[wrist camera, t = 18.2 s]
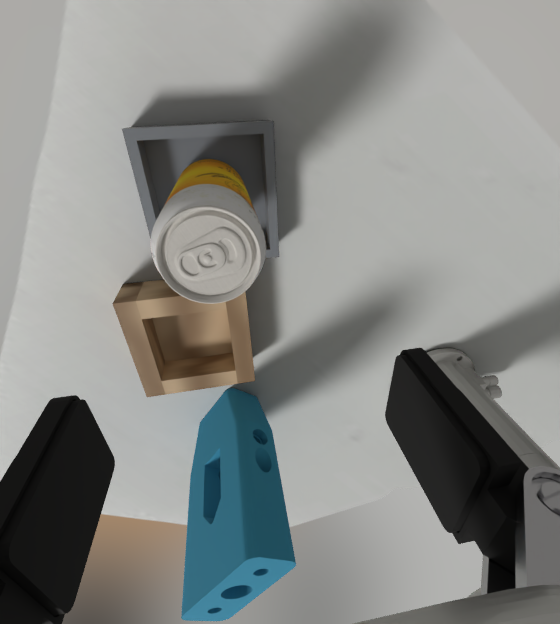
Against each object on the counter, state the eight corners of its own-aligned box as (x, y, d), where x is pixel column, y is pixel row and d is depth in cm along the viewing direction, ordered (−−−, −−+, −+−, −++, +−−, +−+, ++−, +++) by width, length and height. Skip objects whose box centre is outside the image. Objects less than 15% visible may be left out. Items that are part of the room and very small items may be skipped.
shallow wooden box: (242, 271, 34) (245, 288, 31) (251, 358, 40) (255, 380, 37) (123, 283, 33) (112, 303, 29) (152, 372, 39) (146, 397, 36)
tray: (268, 120, 27) (273, 121, 25) (274, 245, 33) (279, 256, 31) (130, 126, 26) (121, 128, 23) (162, 256, 32) (158, 269, 29)
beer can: (255, 214, 31) (283, 287, 18) (195, 237, 31) (182, 324, 18) (230, 146, 27) (244, 178, 15) (163, 172, 28) (120, 225, 15)
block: (236, 377, 42) (250, 556, 25) (267, 389, 44) (300, 562, 27) (190, 434, 46) (177, 620, 29) (221, 443, 48) (225, 621, 31)
